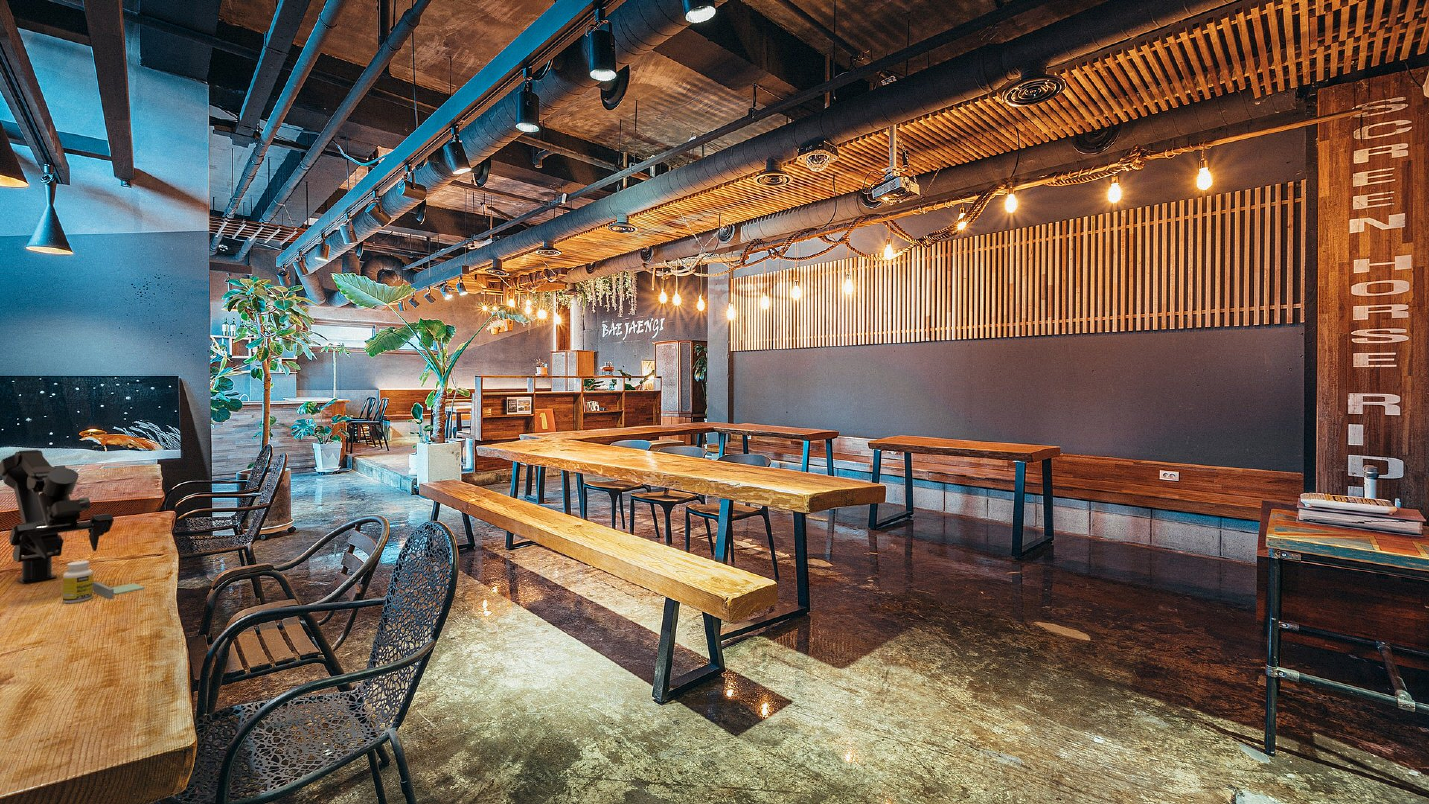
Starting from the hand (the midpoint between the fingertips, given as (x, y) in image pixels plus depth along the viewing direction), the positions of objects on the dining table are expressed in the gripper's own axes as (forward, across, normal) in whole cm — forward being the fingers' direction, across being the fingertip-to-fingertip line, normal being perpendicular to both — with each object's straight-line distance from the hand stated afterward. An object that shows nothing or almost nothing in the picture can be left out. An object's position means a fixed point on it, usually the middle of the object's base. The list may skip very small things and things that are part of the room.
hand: (71, 553), depth 162 cm
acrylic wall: (+11, +5, +5) cm, 13 cm away
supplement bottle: (+12, 0, +5) cm, 13 cm away
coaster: (+11, +10, +5) cm, 15 cm away
